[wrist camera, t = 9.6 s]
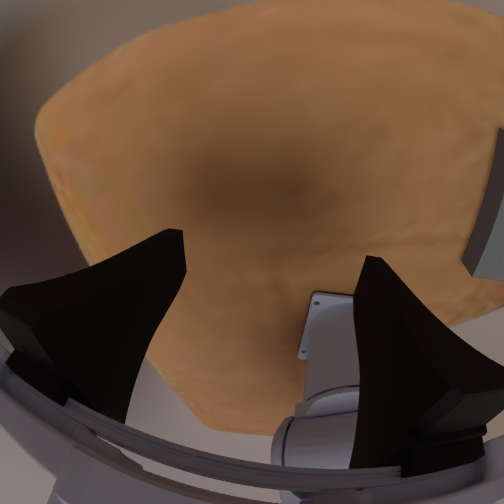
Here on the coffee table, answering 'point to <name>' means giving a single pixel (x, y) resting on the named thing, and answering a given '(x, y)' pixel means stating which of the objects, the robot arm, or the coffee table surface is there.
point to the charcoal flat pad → (489, 225)
